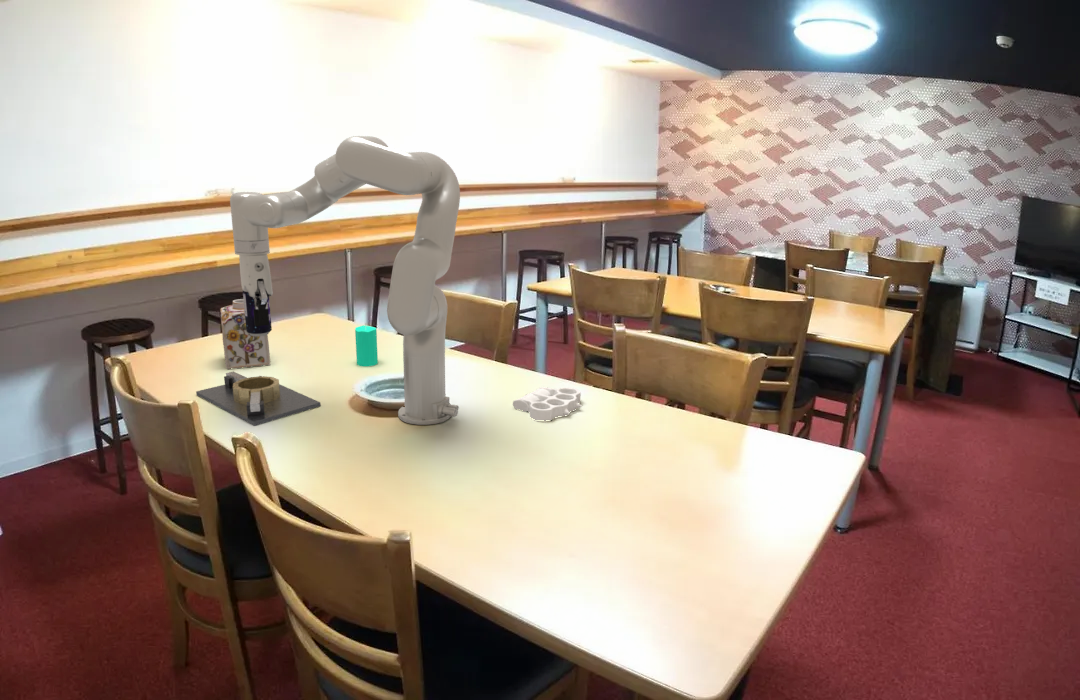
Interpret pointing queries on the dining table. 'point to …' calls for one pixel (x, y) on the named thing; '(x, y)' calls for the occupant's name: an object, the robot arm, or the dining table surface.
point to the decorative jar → (241, 339)
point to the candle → (366, 345)
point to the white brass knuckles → (549, 402)
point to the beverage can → (249, 316)
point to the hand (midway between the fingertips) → (258, 321)
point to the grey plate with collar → (256, 398)
